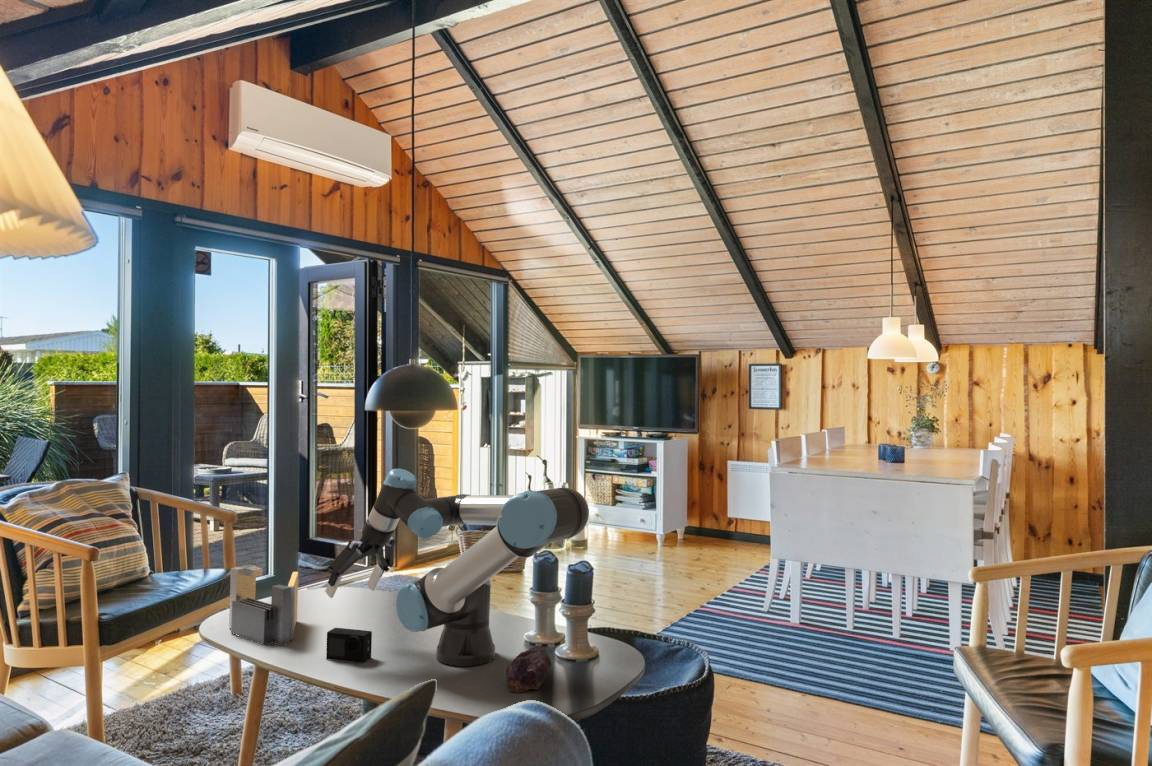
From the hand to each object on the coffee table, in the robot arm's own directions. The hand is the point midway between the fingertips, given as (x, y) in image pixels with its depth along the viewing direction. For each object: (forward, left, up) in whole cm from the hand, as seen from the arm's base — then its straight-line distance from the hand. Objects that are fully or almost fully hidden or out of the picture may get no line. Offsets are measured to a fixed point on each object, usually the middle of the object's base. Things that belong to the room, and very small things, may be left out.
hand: (350, 591), depth 209 cm
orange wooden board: (+24, 0, -15) cm, 28 cm away
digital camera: (-7, +6, -15) cm, 18 cm away
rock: (-55, -8, -15) cm, 57 cm away
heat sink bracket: (+27, +8, -15) cm, 32 cm away
